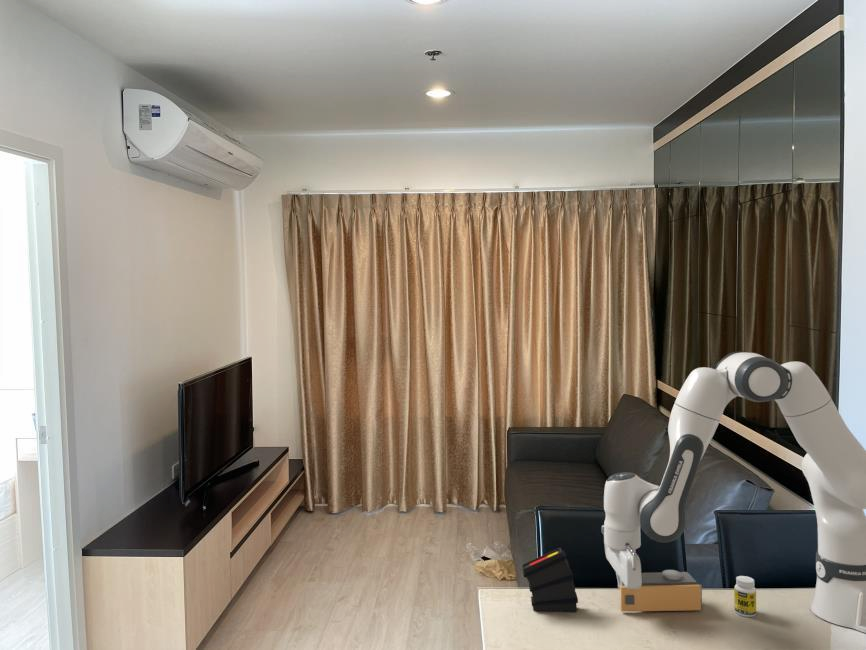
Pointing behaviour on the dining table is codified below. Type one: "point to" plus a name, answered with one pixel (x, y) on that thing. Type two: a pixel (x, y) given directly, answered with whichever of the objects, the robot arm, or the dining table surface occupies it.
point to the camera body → (667, 578)
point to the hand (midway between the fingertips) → (623, 591)
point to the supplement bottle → (745, 596)
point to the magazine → (551, 583)
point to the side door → (661, 598)
